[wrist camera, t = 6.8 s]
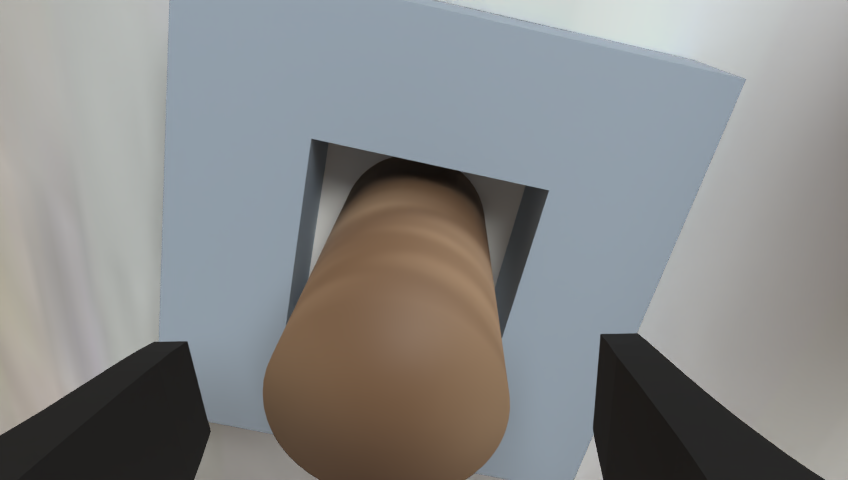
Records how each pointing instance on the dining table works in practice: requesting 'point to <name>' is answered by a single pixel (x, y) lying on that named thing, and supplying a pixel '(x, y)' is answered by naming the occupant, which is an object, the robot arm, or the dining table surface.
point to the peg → (395, 337)
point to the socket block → (436, 145)
